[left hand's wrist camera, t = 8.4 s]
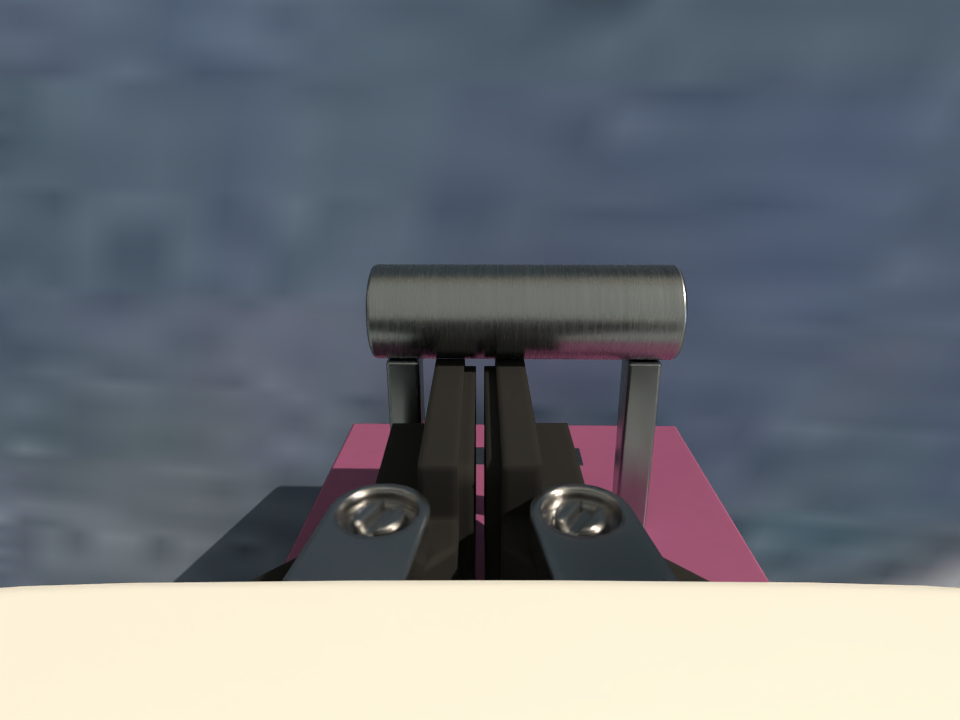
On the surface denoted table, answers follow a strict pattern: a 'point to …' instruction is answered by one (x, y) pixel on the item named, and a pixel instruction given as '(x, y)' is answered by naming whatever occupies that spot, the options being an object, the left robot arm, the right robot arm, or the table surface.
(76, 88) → the table surface
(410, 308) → the drawer
